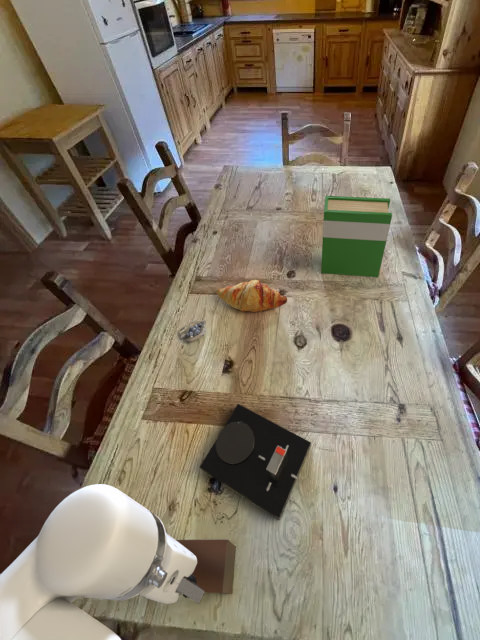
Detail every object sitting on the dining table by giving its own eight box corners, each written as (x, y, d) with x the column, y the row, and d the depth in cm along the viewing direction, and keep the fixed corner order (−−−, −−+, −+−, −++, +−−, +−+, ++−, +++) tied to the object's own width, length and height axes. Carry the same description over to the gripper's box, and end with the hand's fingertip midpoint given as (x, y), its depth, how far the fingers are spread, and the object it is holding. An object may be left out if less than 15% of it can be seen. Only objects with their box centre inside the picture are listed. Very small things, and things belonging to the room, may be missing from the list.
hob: (281, 521, 63) (280, 519, 61) (201, 470, 69) (199, 467, 67) (312, 447, 72) (312, 442, 70) (239, 407, 78) (237, 403, 76)
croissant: (217, 310, 102) (208, 306, 94) (223, 278, 105) (214, 271, 97) (286, 318, 99) (283, 314, 91) (291, 284, 102) (287, 278, 94)
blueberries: (174, 338, 92) (173, 334, 91) (192, 315, 97) (191, 311, 96) (195, 347, 90) (193, 343, 88) (212, 323, 95) (211, 319, 93)
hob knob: (276, 481, 65) (275, 474, 62) (267, 476, 66) (265, 468, 62) (287, 458, 68) (286, 449, 64) (278, 453, 69) (277, 444, 65)
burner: (241, 472, 67) (241, 471, 66) (208, 452, 69) (207, 451, 69) (261, 433, 72) (261, 432, 71) (230, 415, 74) (229, 415, 74)
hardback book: (377, 260, 110) (389, 198, 93) (378, 277, 105) (392, 215, 88) (322, 256, 112) (325, 195, 95) (320, 273, 107) (323, 211, 90)
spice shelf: (232, 593, 56) (222, 592, 50) (148, 594, 57) (127, 593, 50) (236, 546, 61) (227, 539, 54) (158, 547, 61) (140, 540, 54)
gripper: (212, 557, 36) (235, 572, 49) (100, 474, 42) (146, 506, 55) (163, 653, 31) (203, 642, 44) (45, 544, 37) (109, 562, 50)
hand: (171, 567), depth 49 cm, fingers closed on spice bottle, 4 cm apart
